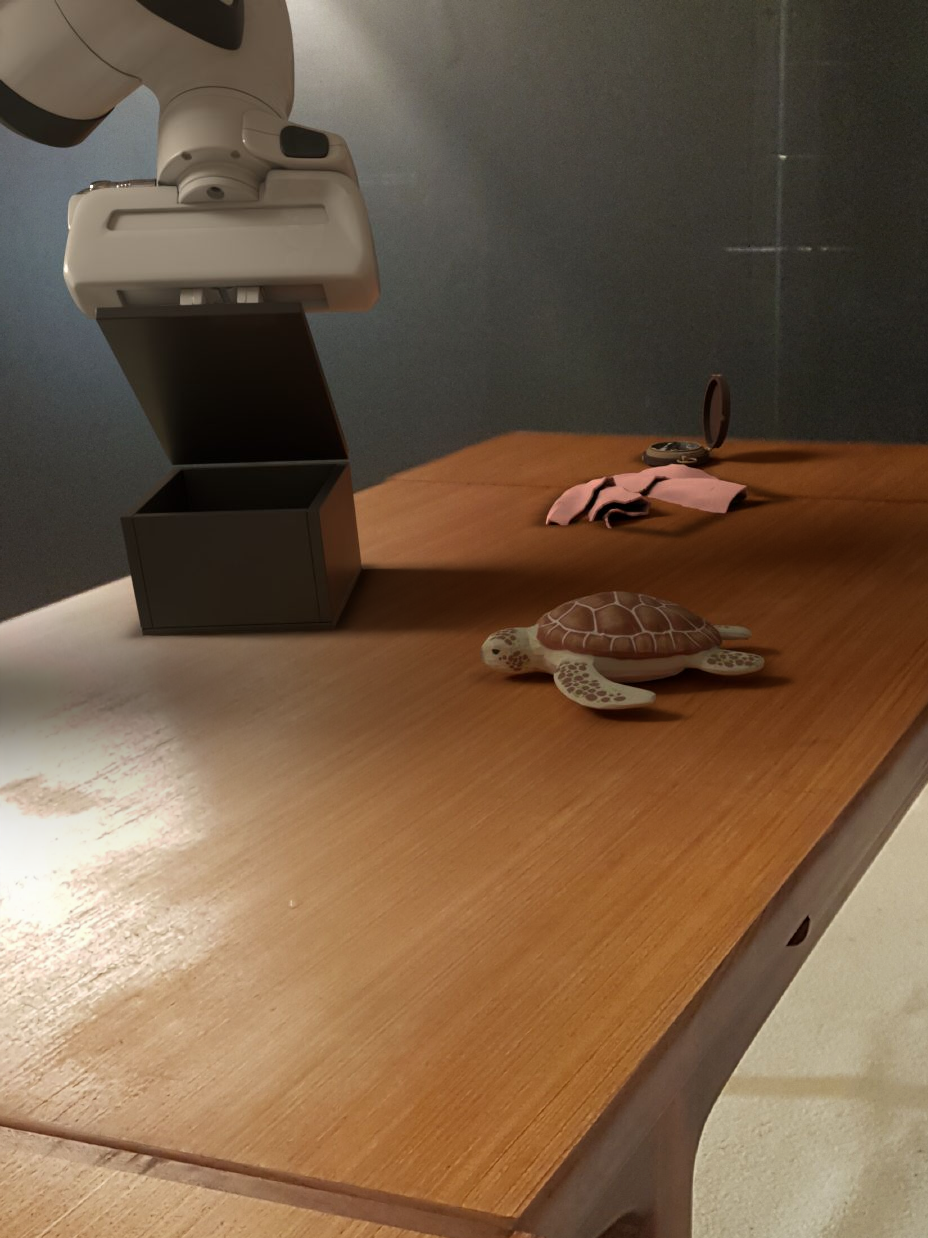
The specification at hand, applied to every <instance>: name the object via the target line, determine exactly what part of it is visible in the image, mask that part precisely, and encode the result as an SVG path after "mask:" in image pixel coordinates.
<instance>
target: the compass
mask: <svg viewBox="0 0 928 1238" xmlns="http://www.w3.org/2000/svg"><path fill="white" fill-rule="evenodd" d="M731 402H732V401H731V392H730V387H729V383H728V381H727V379H726V378H725V377H724V376H723V374H719V373H718V374H711V377H710V378H709V380H708V383H707V385H706V389H705V392H704V398H703V406H702V434H703V440H704V443H705V445H706V446H705V447H704V445H702V444H701V443H699V442H695V441H688V440H687V441H686V440H671V441H668V440H667V441H661V442H655V443H653V444H651V445H650V446H649V447H648V448H647V449H646V450H644V451H643V453H642V456H641V459H642V461H643V462H644V463H645V464H647V465H649V466H653V467H661V466H668V465H670V464H678V465H686V466H687V467H694V466H695V467H696V466H700V465H703V464H705V463H706V462H707V461H708V460H709V459H710V453H711V452H712V451H713V450H714V449H720V448H721V447H722V445H723V444H724V442H725V440H726V438H727V435H728V432H729V428H730V427H729V426H730V420H731V419H730V418H731V405H732V403H731Z"/></svg>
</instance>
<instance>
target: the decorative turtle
mask: <svg viewBox="0 0 928 1238" xmlns="http://www.w3.org/2000/svg"><path fill="white" fill-rule="evenodd" d="M752 635H753V632H752V631H750V629H748V628H747V627H743V626H739V625H721V624H720V625H719V624H711V623H710V622H709V621H707V619H705V618H703V617H702V616H700V615H698V614H696V613H695V612H692V611H691V610H689V609H688V608H686V607H683V606H682V605H680V604H677V603H675V602H672V601H669V600H666V599H662V598H658V597H655V596H651V595H648V594H643V593H642V594H641V593H635V592H634V593H633V592H628V591H621V590H618V591H615V590H614V591H602V592H599V593H595V594H592V595H588V596H587V595H586V596H580V597H577V598H574V599H571V600H569V601H567V602H564V603H562V604H560V605H558V606H557V607H555V608H554V609H552V610H550V611H547V612H545V613H543V615H541V616H540V617H539V618H538V619H537V620H536V622H535V624H534V625H531V626H528V627H509V628H503V629H500V630H498V631H495V632H492V633H491V634H490V635H489V636H488V637H487V638H486V640H485V641H484V643H483V644H482V645H481V647H480V650H479V658H480V660H481V663H483V664H484V665H485V666H487V667H488V668H489V669H490V670H491V671H495V672H497V673H501V674H513V675H515V674H517V675H519V674H522V675H523V674H527V673H533V672H538V673H545V674H546V673H547V674H549V675H552V676H553V680H554V684H555V685H556V688H558V690H559V691H560V692H561V693H562V694H563V695H564V696H566V697H567V698H568V699H569V700H571V701H573V702H575V703H577V704H579V705H581V706H584V707H586V708H592V709H597V710H623V709H636V708H644V707H648V706H651V705H653V704H654V702H655V701H656V700H657V694H656V693H655V692H654V691H651V690H648V689H643V688H639V687H634V686H630V685H625V684H635V683H637V684H638V683H645V682H650V681H656V680H657V681H658V680H662V679H666V678H669V677H674V676H676V675H678V674H680V673H682V672H683V671H684V670H685V669H699V670H701V671H703V672H706V673H710V674H715V675H720V676H739V675H746V674H751V673H756V672H758V671H760V670H762V669H764V666H765V659H764V658H763V657H762V656H761V655H758V654H755V653H750V652H749V653H748V652H743V651H736V650H729V649H722V648H720V647H721V645H723V641H739V640H740V641H741V640H742V641H743V640H745V641H747V640H749V639H752Z"/></svg>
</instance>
